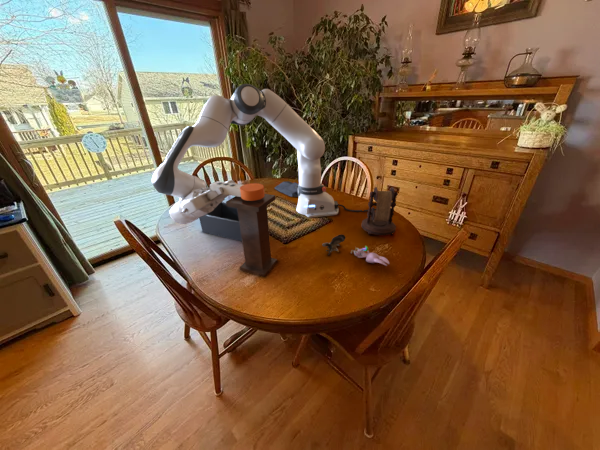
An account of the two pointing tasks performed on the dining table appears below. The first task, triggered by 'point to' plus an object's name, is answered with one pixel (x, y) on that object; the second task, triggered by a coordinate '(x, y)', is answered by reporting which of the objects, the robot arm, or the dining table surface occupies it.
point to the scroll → (381, 213)
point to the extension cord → (241, 190)
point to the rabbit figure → (370, 256)
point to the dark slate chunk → (288, 188)
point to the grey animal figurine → (334, 243)
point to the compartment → (222, 222)
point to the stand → (254, 233)
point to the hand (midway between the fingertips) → (226, 187)
